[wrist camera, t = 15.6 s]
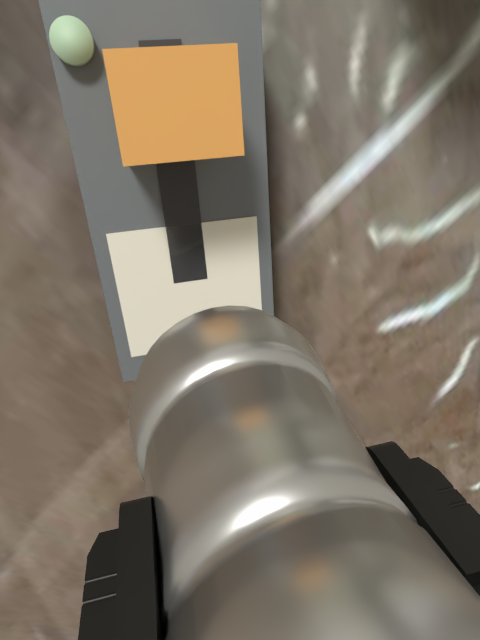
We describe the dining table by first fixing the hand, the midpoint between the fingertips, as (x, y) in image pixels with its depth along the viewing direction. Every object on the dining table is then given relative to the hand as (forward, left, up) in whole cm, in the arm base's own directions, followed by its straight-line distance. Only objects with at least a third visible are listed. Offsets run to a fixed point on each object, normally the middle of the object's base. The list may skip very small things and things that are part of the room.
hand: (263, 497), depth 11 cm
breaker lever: (+9, 0, -16) cm, 18 cm away
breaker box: (+5, 0, -21) cm, 22 cm away
